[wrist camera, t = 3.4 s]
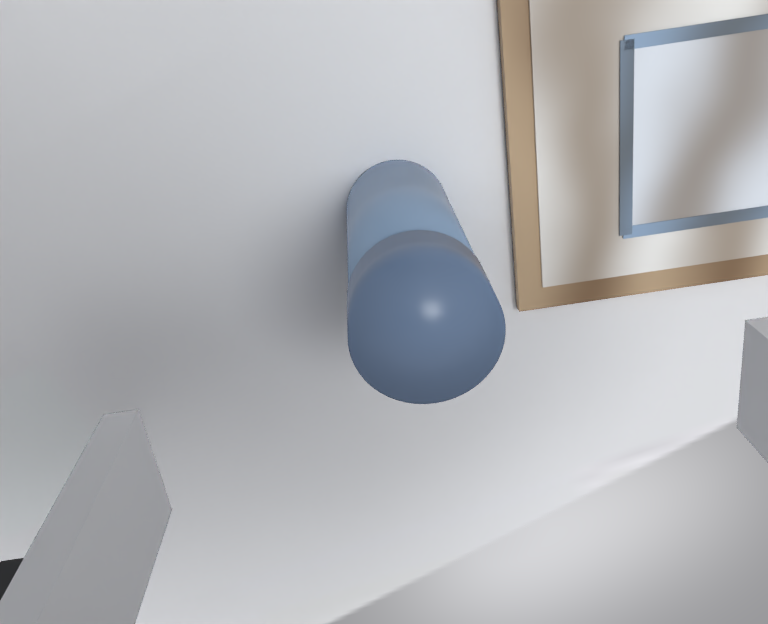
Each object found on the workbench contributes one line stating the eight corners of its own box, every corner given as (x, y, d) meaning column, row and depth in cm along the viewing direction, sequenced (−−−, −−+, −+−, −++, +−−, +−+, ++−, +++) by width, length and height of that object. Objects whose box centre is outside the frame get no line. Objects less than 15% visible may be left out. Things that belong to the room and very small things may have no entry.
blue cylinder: (353, 265, 30) (360, 414, 20) (337, 167, 28) (335, 275, 18) (453, 250, 30) (510, 392, 20) (443, 151, 28) (499, 251, 18)
